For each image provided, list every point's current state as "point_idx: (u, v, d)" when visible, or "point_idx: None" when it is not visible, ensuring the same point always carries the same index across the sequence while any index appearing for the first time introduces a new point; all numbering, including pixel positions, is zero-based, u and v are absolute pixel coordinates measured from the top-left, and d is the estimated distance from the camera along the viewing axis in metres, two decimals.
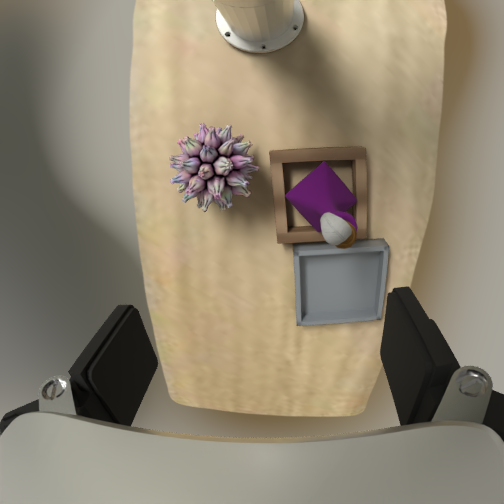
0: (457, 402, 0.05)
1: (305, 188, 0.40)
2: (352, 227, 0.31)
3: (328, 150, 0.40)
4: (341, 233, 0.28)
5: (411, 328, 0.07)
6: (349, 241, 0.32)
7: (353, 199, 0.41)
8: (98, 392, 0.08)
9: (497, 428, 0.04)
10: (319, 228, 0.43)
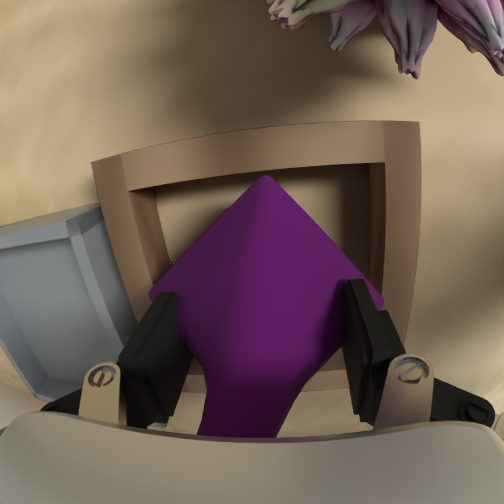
0: (400, 391, 0.06)
1: (309, 261, 0.10)
2: None
3: (407, 304, 0.13)
4: None
5: (357, 316, 0.08)
6: None
7: None
8: (148, 377, 0.08)
9: (438, 417, 0.05)
10: None
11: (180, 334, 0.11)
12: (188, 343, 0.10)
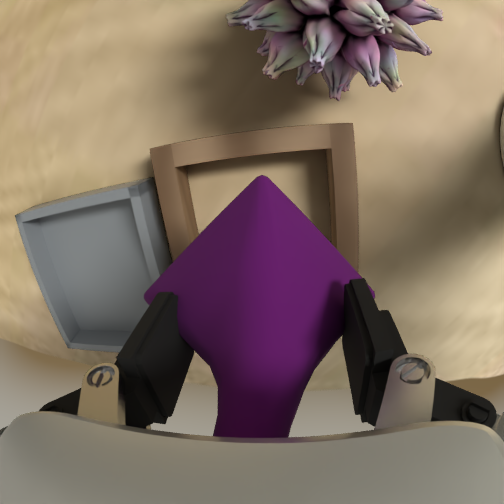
0: (402, 391, 0.06)
1: (306, 257, 0.11)
2: None
3: (355, 241, 0.21)
4: None
5: (358, 316, 0.08)
6: None
7: None
8: (146, 377, 0.08)
9: (440, 417, 0.05)
10: None
11: (182, 334, 0.11)
12: (191, 342, 0.10)
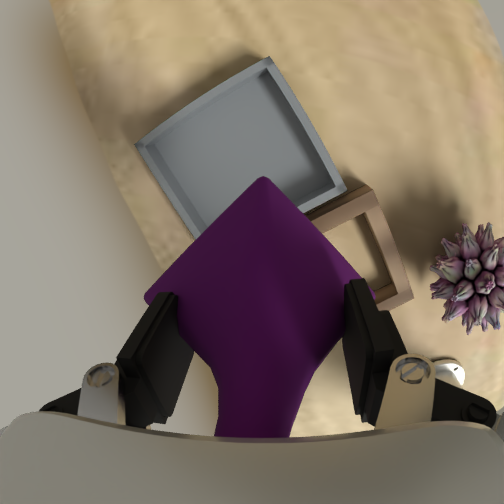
0: (402, 391, 0.06)
1: (307, 258, 0.11)
2: None
3: None
4: None
5: (358, 316, 0.08)
6: None
7: None
8: (146, 377, 0.08)
9: (440, 417, 0.05)
10: None
11: (182, 335, 0.11)
12: (192, 343, 0.10)
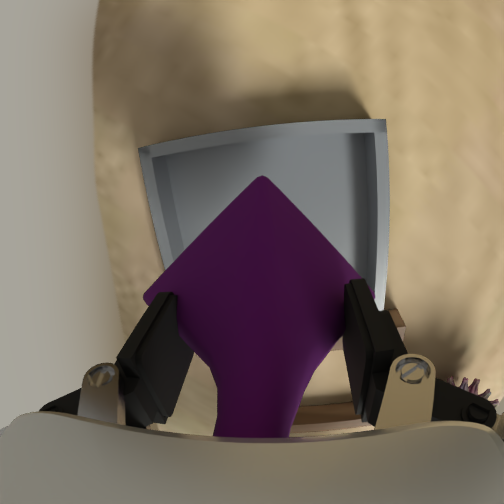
0: (402, 391, 0.06)
1: (307, 257, 0.11)
2: None
3: (306, 431, 0.28)
4: None
5: (358, 316, 0.08)
6: None
7: None
8: (146, 377, 0.08)
9: (440, 417, 0.05)
10: None
11: (181, 334, 0.11)
12: (191, 343, 0.10)
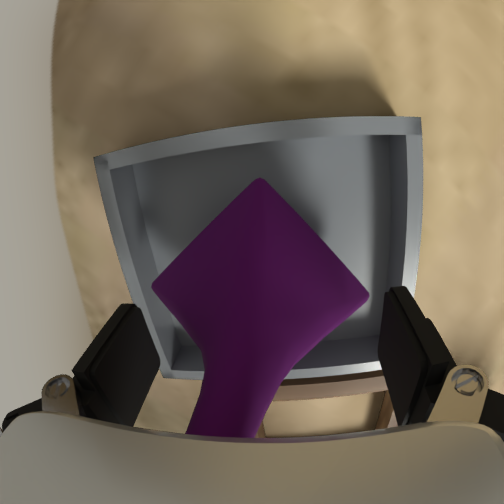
0: (453, 401, 0.05)
1: (297, 255, 0.11)
2: None
3: None
4: None
5: (407, 327, 0.08)
6: None
7: None
8: (101, 391, 0.08)
9: (493, 427, 0.04)
10: (162, 297, 0.13)
11: (181, 321, 0.12)
12: (188, 329, 0.11)
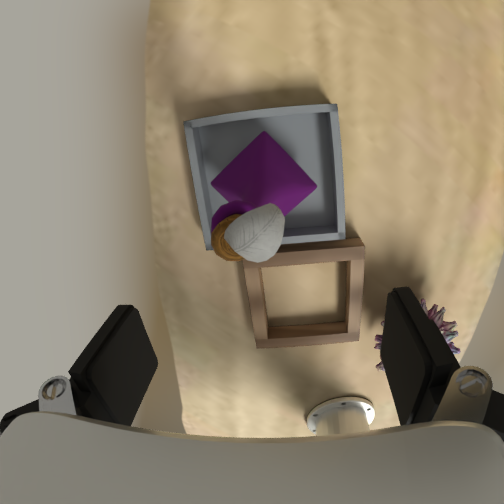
0: (457, 402, 0.05)
1: (280, 160, 0.26)
2: None
3: (297, 345, 0.39)
4: (251, 247, 0.16)
5: (411, 328, 0.07)
6: (226, 250, 0.19)
7: None
8: (98, 392, 0.08)
9: (497, 428, 0.04)
10: (218, 184, 0.28)
11: (229, 190, 0.27)
12: (233, 190, 0.27)
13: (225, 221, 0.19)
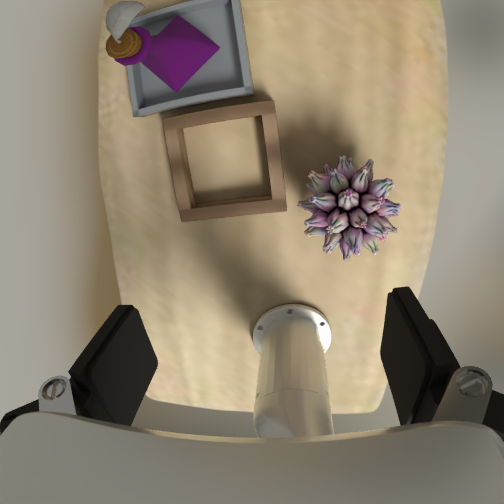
0: (457, 402, 0.05)
1: (185, 28, 0.27)
2: (130, 49, 0.20)
3: (221, 216, 0.38)
4: (118, 21, 0.16)
5: (411, 328, 0.07)
6: (114, 49, 0.19)
7: (176, 84, 0.30)
8: (98, 392, 0.08)
9: (497, 428, 0.04)
10: None
11: None
12: None
13: None
